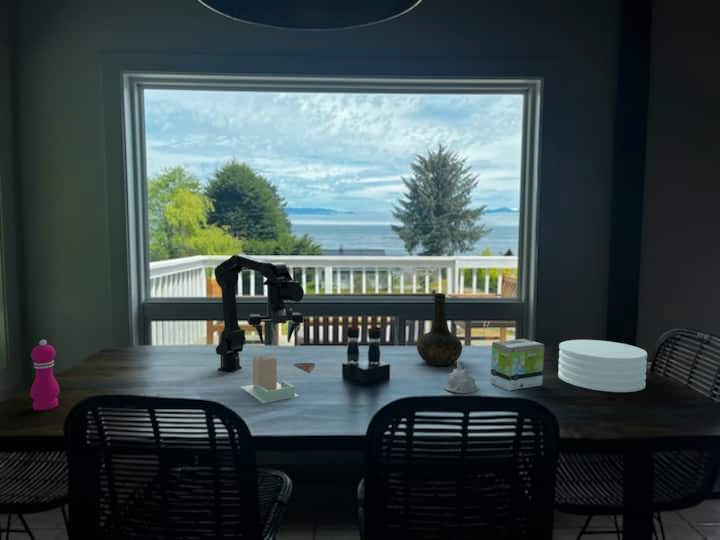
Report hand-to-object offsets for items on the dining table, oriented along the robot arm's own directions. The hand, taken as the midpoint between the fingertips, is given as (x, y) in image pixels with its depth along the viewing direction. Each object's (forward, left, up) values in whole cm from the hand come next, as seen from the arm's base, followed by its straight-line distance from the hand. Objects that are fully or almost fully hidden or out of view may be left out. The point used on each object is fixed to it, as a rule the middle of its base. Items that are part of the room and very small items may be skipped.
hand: (275, 343), depth 172 cm
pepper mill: (-44, -53, -13) cm, 70 cm away
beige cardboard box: (+5, -13, -12) cm, 18 cm away
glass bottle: (+45, +48, -13) cm, 67 cm away
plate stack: (+103, +53, -14) cm, 116 cm away
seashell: (+61, +20, -14) cm, 65 cm away
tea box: (+77, +33, -13) cm, 85 cm away
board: (+8, -15, -13) cm, 22 cm away
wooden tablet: (+2, +11, -14) cm, 18 cm away
